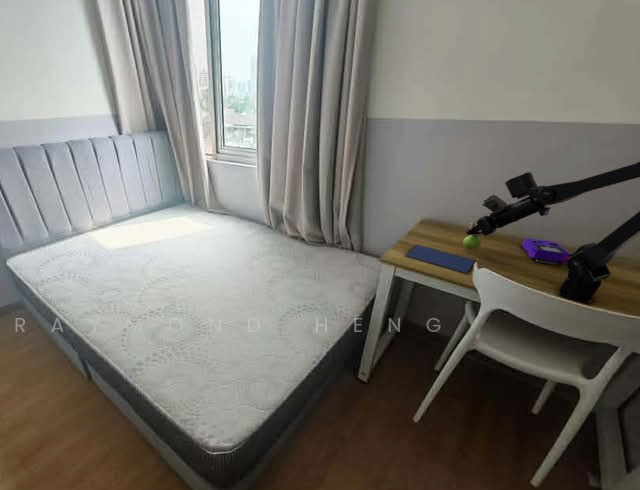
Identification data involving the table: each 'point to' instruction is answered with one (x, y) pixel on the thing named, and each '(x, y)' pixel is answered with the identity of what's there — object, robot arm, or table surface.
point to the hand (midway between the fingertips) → (470, 231)
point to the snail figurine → (472, 239)
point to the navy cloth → (441, 259)
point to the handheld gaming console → (545, 251)
